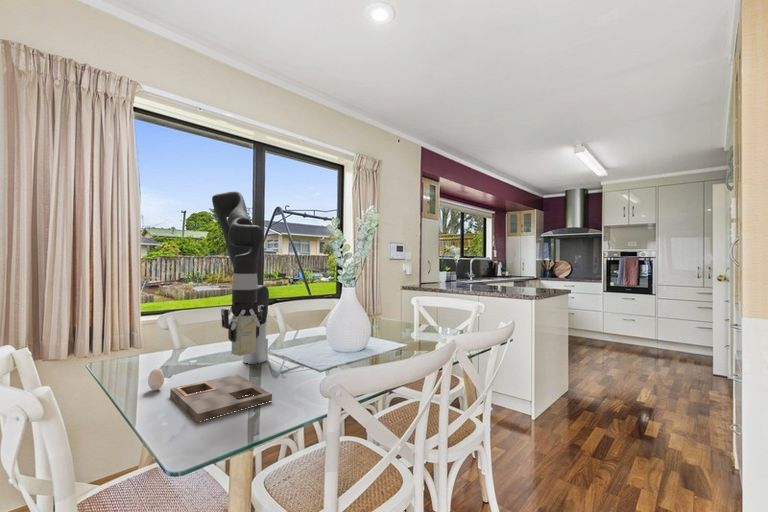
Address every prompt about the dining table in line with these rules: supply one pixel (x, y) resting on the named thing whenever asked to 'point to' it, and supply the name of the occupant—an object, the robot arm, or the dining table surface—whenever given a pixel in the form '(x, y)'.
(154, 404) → the dining table surface
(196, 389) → the socket board
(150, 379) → the egg
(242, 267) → the robot arm
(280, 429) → the dining table surface
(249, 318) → the skincare box
